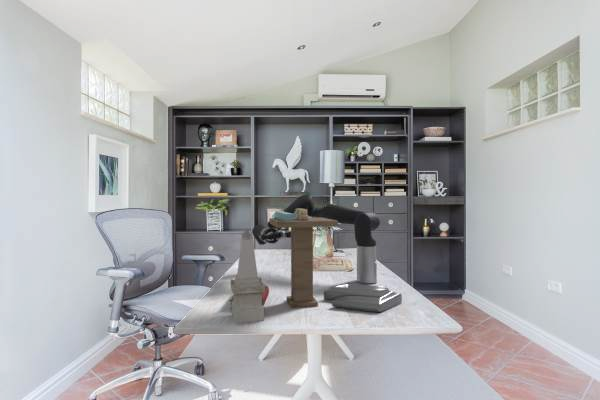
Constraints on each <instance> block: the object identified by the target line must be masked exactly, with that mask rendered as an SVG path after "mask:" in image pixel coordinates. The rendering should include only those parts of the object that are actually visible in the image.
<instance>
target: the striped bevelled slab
mask: <svg viewBox="0 0 600 400" xmlns="http://www.w3.org/2000/svg"><path fill="white" fill-rule="evenodd" d="M323 301H328V302H331V306H332V307H336V308H343V309H349V310H354V311H362V312H363V311H365V312H374V313H382V312H385V311H387V310H390V309H392V308H395V307H396V306H399V305H401V304H402V303H403V296H402V293H400V292H395V291H392V290H390V289H389V288H388V287H386V286H382V285H381V286H380V285H367V284H353V283H346V284H339V285H334V286H332V287H329V288H327V289H325V290H324V291H323Z"/></svg>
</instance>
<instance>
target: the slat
mask: <svg viewBox="0 0 600 400" xmlns="http://www.w3.org/2000/svg"><path fill="white" fill-rule="evenodd" d="M283 211H284V210H280V211H279V210H278V211H276V210H275V211H274V213H275V214H274V218H275V217H276V218H279V219H281V220H284V221H294V218H295V213H293V214H291V213H287V212H283Z"/></svg>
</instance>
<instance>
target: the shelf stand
mask: <svg viewBox="0 0 600 400" xmlns="http://www.w3.org/2000/svg"><path fill="white" fill-rule="evenodd" d="M269 221H270V224H272V225H273V226H275V227H277V228H282V229H283V228H290V231H291V237H290V272H291V273H290V275H291V277H290V285H291V287H290V288H291V289H290V294H291V295H290V296H289V295H287V296H286V301H287V303H288V305H289V307H290V308H291V309H297V308H312V307H313V308H314V307H318V306H319V302H318V301H317V299H316V298H315V297H314V271H313V259H314V250H313V249H314V246H313V245H314V243H313V242H314V239H313V237H314V234H313V233H314V232H313V231H314V228H323V227H324V228H325V227H326V228H329V227H332V228H333V227H339V223H338V221H336V220H331V219H327V218H316V217H309V216H308V215H307V209H299V208H298V209H296V211H295V213H294V221H284V220H281V219H279V218H275V217H273V218H271V217H270V218H269Z"/></svg>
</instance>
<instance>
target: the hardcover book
mask: <svg viewBox="0 0 600 400" xmlns="http://www.w3.org/2000/svg"><path fill="white" fill-rule="evenodd" d="M269 294H270V287H269V285H265V292H263V293H262V305H263V307H264V306H265V303H266V301H267V298H268V296H269ZM233 300H234V294H232V296H231V297H230V298H229V302H230V310H232V301H233Z"/></svg>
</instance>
